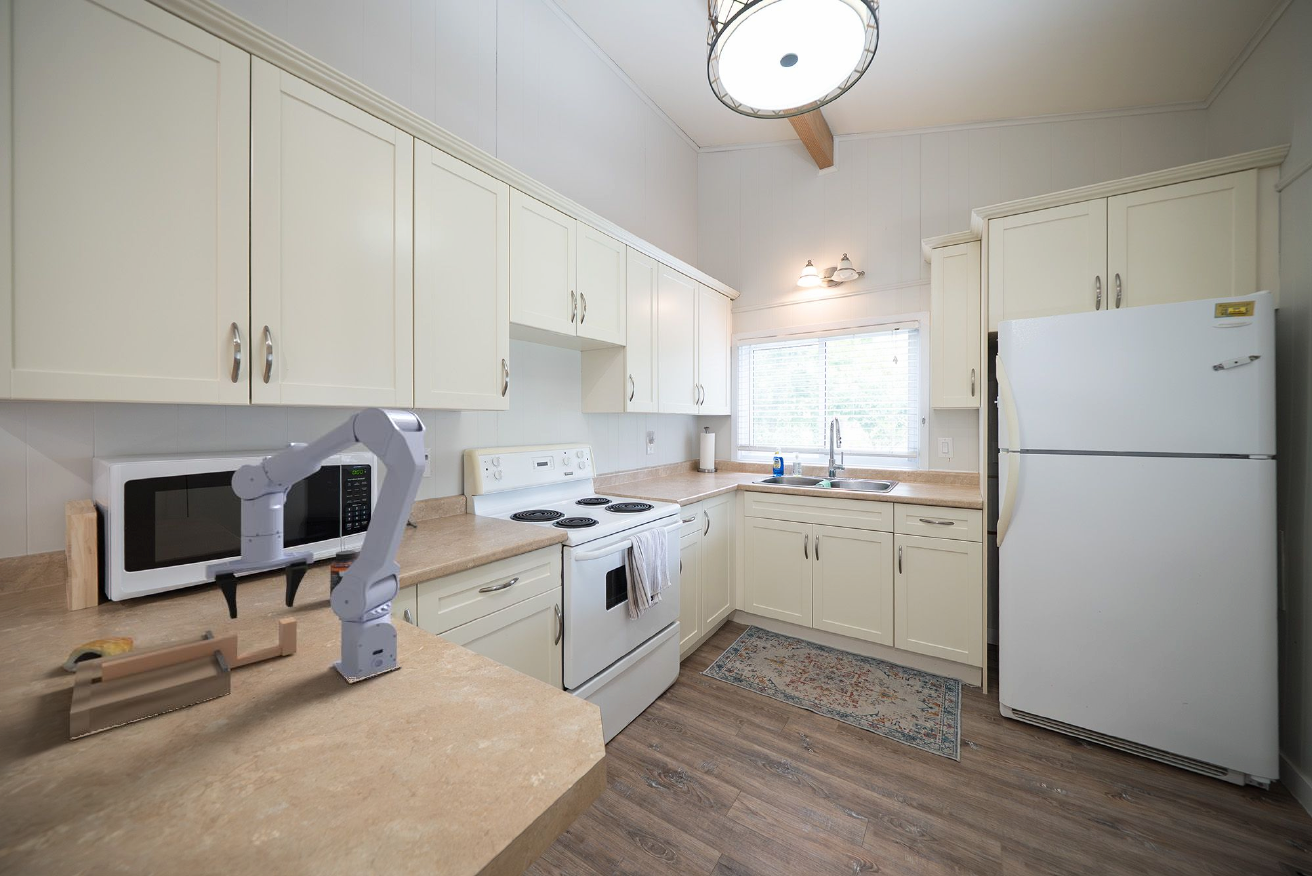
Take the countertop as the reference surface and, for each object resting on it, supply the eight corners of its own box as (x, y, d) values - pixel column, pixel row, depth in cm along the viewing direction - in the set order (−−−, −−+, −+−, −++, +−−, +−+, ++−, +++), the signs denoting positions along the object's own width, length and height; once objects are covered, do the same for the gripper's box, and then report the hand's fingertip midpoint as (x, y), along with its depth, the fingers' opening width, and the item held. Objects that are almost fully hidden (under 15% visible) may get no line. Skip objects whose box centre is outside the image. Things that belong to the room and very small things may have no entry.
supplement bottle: (349, 603, 113) (349, 555, 113) (323, 603, 113) (324, 554, 113) (365, 595, 119) (365, 549, 119) (341, 594, 119) (341, 548, 119)
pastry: (96, 651, 88) (96, 630, 88) (146, 645, 91) (146, 625, 91) (58, 675, 79) (59, 651, 79) (115, 668, 82) (115, 645, 82)
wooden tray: (230, 693, 74) (230, 666, 74) (69, 740, 62) (69, 709, 62) (212, 652, 88) (212, 629, 88) (77, 684, 76) (77, 658, 76)
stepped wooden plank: (296, 652, 87) (296, 620, 87) (101, 703, 70) (101, 665, 70) (292, 647, 89) (292, 616, 89) (102, 696, 72) (102, 658, 72)
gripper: (306, 524, 93) (306, 595, 93) (203, 535, 82) (203, 616, 83) (316, 530, 88) (316, 604, 88) (208, 542, 78) (208, 627, 78)
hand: (262, 611), depth 85 cm, fingers open, 7 cm apart
